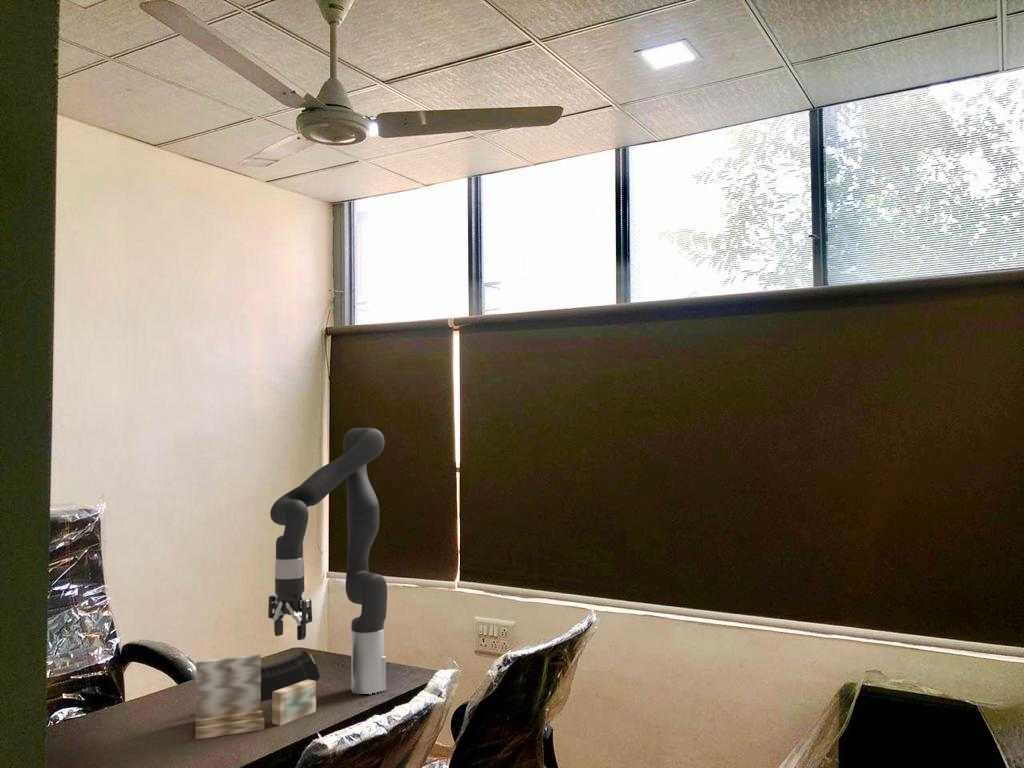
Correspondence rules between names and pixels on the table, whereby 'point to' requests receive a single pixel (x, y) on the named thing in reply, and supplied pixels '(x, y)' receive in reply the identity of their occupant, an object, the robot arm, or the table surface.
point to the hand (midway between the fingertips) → (290, 637)
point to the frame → (293, 702)
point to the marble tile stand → (228, 696)
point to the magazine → (287, 673)
